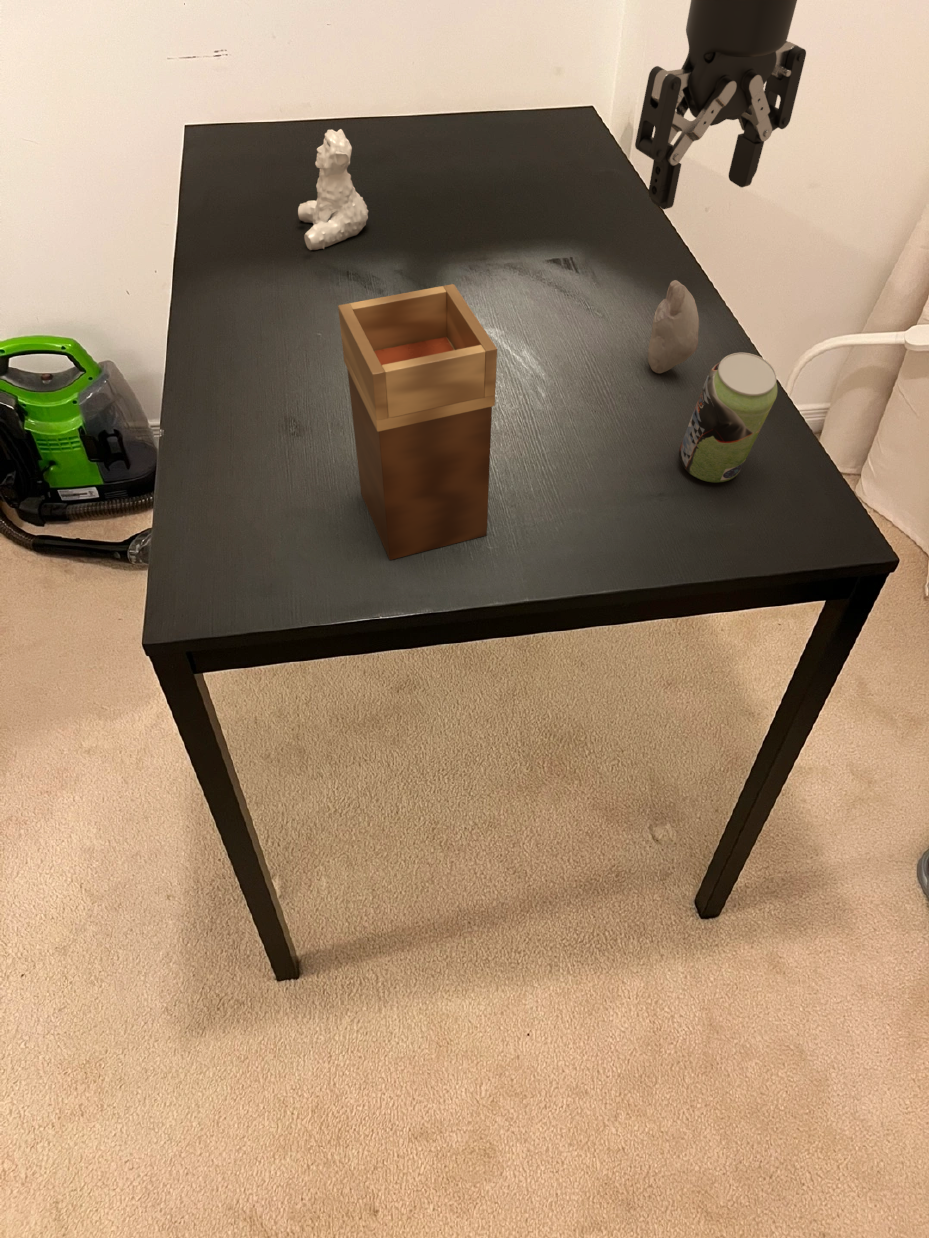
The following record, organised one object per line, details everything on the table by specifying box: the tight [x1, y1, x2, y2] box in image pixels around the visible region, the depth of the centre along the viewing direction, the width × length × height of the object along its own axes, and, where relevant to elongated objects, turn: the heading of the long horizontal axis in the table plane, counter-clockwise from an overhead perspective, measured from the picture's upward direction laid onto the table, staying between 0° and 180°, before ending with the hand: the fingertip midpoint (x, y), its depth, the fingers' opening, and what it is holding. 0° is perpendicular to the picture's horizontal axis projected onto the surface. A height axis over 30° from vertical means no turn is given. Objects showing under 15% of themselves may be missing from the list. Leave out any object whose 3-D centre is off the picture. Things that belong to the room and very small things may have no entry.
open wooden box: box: [337, 283, 498, 432], centre depth 66 cm, size 9×9×5 cm
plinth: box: [346, 368, 493, 561], centre depth 74 cm, size 9×9×14 cm
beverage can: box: [678, 352, 778, 483], centre depth 78 cm, size 6×7×12 cm
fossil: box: [647, 279, 700, 374], centre depth 89 cm, size 6×4×10 cm, turn 26°
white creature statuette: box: [297, 128, 369, 251], centre depth 107 cm, size 10×9×12 cm
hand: (700, 194), depth 75 cm, fingers open, 8 cm apart
